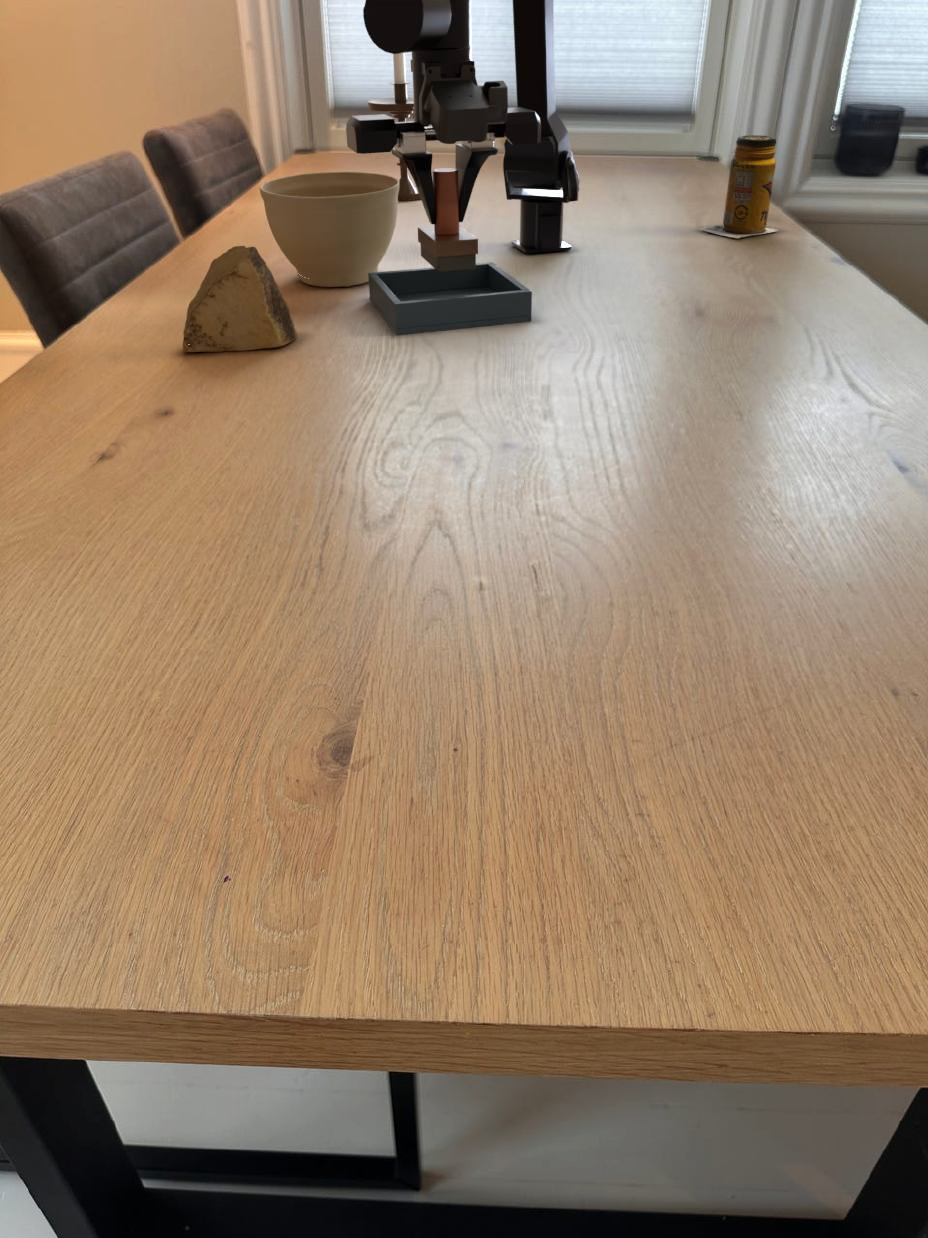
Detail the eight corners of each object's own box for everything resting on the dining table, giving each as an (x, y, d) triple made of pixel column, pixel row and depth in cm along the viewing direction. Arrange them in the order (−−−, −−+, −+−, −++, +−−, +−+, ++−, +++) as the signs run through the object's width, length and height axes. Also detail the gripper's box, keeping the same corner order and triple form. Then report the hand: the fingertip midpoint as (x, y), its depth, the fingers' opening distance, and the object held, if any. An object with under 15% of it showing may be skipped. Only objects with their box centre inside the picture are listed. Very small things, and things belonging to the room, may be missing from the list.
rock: (152, 338, 89) (244, 330, 86) (159, 250, 89) (251, 239, 86) (217, 376, 99) (301, 370, 96) (223, 296, 100) (307, 288, 96)
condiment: (778, 231, 134) (793, 137, 127) (736, 239, 130) (750, 142, 124) (740, 223, 139) (752, 132, 132) (698, 230, 135) (709, 137, 129)
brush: (418, 255, 103) (414, 165, 98) (457, 252, 104) (455, 162, 99) (437, 272, 97) (434, 177, 92) (478, 269, 98) (477, 174, 93)
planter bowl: (244, 281, 115) (231, 184, 109) (344, 257, 125) (337, 167, 119) (330, 304, 106) (320, 200, 100) (431, 276, 116) (427, 179, 110)
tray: (369, 300, 107) (367, 272, 105) (492, 289, 110) (492, 261, 109) (396, 335, 96) (394, 304, 94) (531, 321, 99) (532, 290, 98)
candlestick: (448, 193, 164) (443, -54, 145) (413, 203, 157) (402, -56, 137) (398, 188, 169) (386, -51, 150) (361, 197, 162) (343, -53, 142)
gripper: (361, 55, 81) (374, 246, 90) (564, 47, 85) (557, 230, 94) (338, 49, 90) (352, 223, 99) (523, 43, 94) (521, 210, 103)
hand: (446, 222), depth 98 cm, fingers closed on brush, 2 cm apart
